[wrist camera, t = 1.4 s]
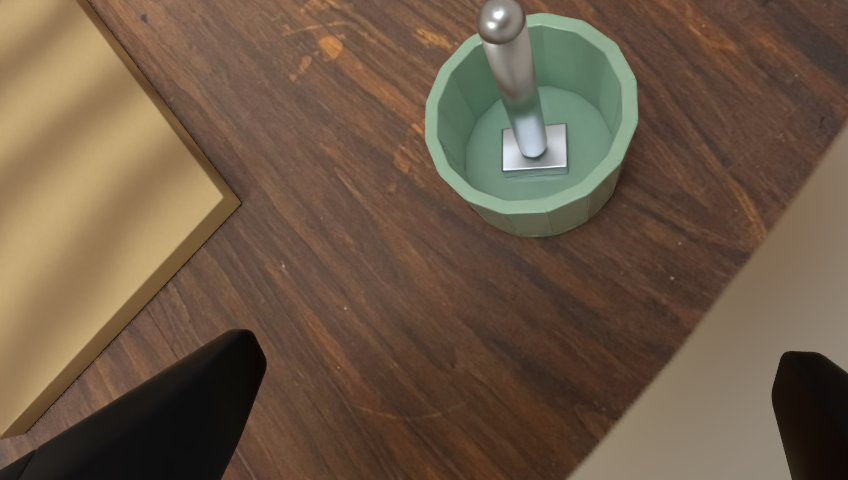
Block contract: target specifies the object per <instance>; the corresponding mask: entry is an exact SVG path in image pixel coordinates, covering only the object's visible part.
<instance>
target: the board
mask: <svg viewBox="0 0 848 480" xmlns="http://www.w3.org/2000/svg"><path fill="white" fill-rule="evenodd" d="M240 204H241V202H240V201H239V199H238V198H237V197H236V195H235V194H234V193H233V191H232V190H231V189H230V187H229V186H228V185H227V184H226V182H225V181H224V180H223V178H222V177H221V176H220V174H219V173H218V172H217V170H216V169H215V168H214V167H213V165H212V164H211V163H210V161H209V160H208V159H207V157H206V156H205V155H204V153H203V152H202V151H201V150H200V148H199V147H198V146H197V144H196V143H195V142H194V140H193V139H192V138H191V136H190V135H189V134H188V133H187V131H186V130H185V129H184V127H183V126H182V125H181V123H180V122H179V121H178V119H177V118H176V117H175V116H174V114H173V113H172V112H171V110H170V109H169V108H168V106H167V105H166V104H165V102H164V101H163V100H162V99H161V97H160V96H159V95H158V93H157V92H156V91H155V89H154V88H153V87H152V85H151V84H150V83H149V82H148V80H147V79H146V78H145V76H144V75H143V74H142V72H141V71H140V70H139V68H138V67H137V66H136V65H135V63H134V62H133V61H132V59H131V58H130V57H129V55H128V54H127V53H126V51H125V50H124V49H123V48H122V46H121V45H120V44H119V42H118V41H117V40H116V38H115V37H114V36H113V34H112V33H111V32H110V31H109V29H108V28H107V27H106V25H105V24H104V23H103V21H102V20H101V19H100V17H99V16H98V15H97V14H96V12H95V11H94V10H93V8H92V7H91V6H90V4H89V3H88V2H87V0H0V439H4V438H9V437H14V436H18V435H23V434H24V433H25V432H26V431H27V430H28V429H29V428H30V427H31V426H32V425H33V424H34V423H35V422H36V421H37V420H38V419H39V418H40V416H41V415H42V414H43V413H44V412H45V411H46V410H47V409H48V408H49V407H50V406H51V405H52V404H53V403H54V402H55V401H56V399H57V398H58V397H59V396H60V395H61V394H62V393H63V392H64V391H65V390H66V389H67V388H68V387H69V386H70V385H71V384H72V382H73V381H74V380H75V379H76V378H77V377H78V376H79V375H80V374H81V373H82V372H83V371H84V370H85V369H86V368H87V367H88V365H89V364H90V363H91V362H92V361H93V360H94V359H95V358H96V357H97V356H98V355H99V354H100V353H101V352H102V351H103V350H104V348H105V347H106V346H107V345H108V344H109V343H110V342H111V341H112V340H113V339H114V338H115V337H116V336H117V335H118V334H119V333H120V331H121V330H122V329H123V328H124V327H125V326H126V325H127V324H128V323H129V322H130V321H131V320H132V319H133V318H134V317H135V316H136V315H137V313H138V312H139V311H140V310H141V309H142V308H143V307H144V306H145V305H146V304H147V303H148V302H149V301H150V300H151V299H152V298H153V296H154V295H155V294H156V293H157V292H158V291H159V290H160V289H161V288H162V287H163V286H164V285H165V284H166V283H167V282H168V281H169V279H170V278H171V277H172V276H173V275H174V274H175V273H176V272H177V271H178V270H179V269H180V268H181V267H182V266H183V265H184V264H185V262H186V261H187V260H188V259H189V258H190V257H191V256H192V255H193V254H194V253H195V252H196V251H197V250H198V249H199V248H200V247H201V245H202V244H203V243H204V242H205V241H206V240H207V239H208V238H209V237H210V236H211V235H212V234H213V233H214V232H215V231H216V230H217V228H218V227H219V226H220V225H221V224H222V223H223V222H224V221H225V220H226V219H227V218H228V217H229V216H230V215H231V214H232V213H233V211H234V210H235V209H236V208H237V207H238V206H239V205H240Z"/></svg>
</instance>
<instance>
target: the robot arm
mask: <svg viewBox="0 0 848 480" xmlns="http://www.w3.org/2000/svg"><path fill="white" fill-rule="evenodd" d="M266 366H267V362H266V358H265V355H264V353H263V351H262V349H261V347H260V345H259V343H258V341H257V339H256V337H255V335H254V333H253V332H252V331H250V330H247V329H231V330H229V331H227V332H225V333H223V334H222V335H220V336H219V337H217V338H215V339H214V340H212V341H210V342H209V343H207V344H206V345H204V346H202V347H201V348H199V349H197V350H196V351H194V352H193V353H191V354H189V355H188V356H186V357H184V358H183V359H181V360H179V361H178V362H176V363H175V364H173V365H171V366H170V367H168V368H166V369H165V370H163V371H162V372H160V373H158V374H157V375H155V376H153V377H152V378H150V379H148V380H147V381H145V382H144V383H142V384H140V385H139V386H137V387H135V388H134V389H132V390H131V391H129V392H127V393H126V394H124V395H122V396H121V397H119V398H118V399H116V400H114V401H113V402H111V403H109V404H108V405H106V406H104V407H103V408H101V409H100V410H98V411H96V412H95V413H93V414H91V415H90V416H88V417H87V418H85V419H83V420H82V421H80V422H78V423H77V424H75V425H73V426H72V427H70V428H69V429H67V430H65V431H64V432H62V433H60V434H59V435H57V436H56V437H54V438H52V439H51V440H49V441H47V442H46V443H44V444H43V445H41V446H39V448H38V449H37V450H32V451H31V452H29V453H28V454H26V455H24V456H23V457H21V458H20V459H18V460H16V461H15V462H13V463H11V464H10V465H8V466H6V467H5V468H3V469H1V470H0V480H221V478H222V476H223V474H224V472H225V470H226V468H227V466H228V464H229V462H230V460H231V458H232V455H233V453H234V451H235V449H236V447H237V445H238V442H239V440H240V438H241V435H242V433H243V430H244V427H245V425H246V422H247V419H248V417H249V414H250V411H251V409H252V406H253V403H254V401H255V398H256V395H257V393H258V390H259V387H260V385H261V382H262V379H263V377H264V374H265V371H266ZM772 404H773V408H774V412H775V416H776V420H777V424H778V427H779V432H780V435H781V439H782V443H783V447H784V450H785V454H786V458H787V462H788V466H789V470H790V474H791V477H792V480H848V373H847V372H846V371H844V370H843V369H842V368H840V367H839V366H838V365H836V364H835V363H833V362H832V361H831V360H829V359H828V358H827V357H825V356H824V355H822V354H820V353H816V352H800V351H789V352H785V353H784V354H783V355H782V357H781V359H780V363H779V366H778V370H777V374H776V377H775V381H774V384H773V388H772Z"/></svg>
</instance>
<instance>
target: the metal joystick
mask: <svg viewBox="0 0 848 480" xmlns="http://www.w3.org/2000/svg"><path fill="white" fill-rule="evenodd" d="M477 30H478V33H479V36H480V39H481V42H482V45H483V47H484V50H485V53H486V56H487V59H488V62H489V64H490V67H491V70H492V73H493V76H494V79H495V82H496V84H497V87H498V90H499V93H500V96H501V99H502V101H503V104H504V107H505V110H506V113H507V116H508V119H509V121H510V124H511V127H512V128H505V129H502V172H503V174H504V176H505V177H519V176H535V175H552V174H567V173H568V129H567V123H559V124H549V125H545V124H544V119H543V113H542V107H541V101H540V95H539V90H538V84H537V78H536V72H535V66H534V61H533V55H532V49H531V43H530V38H529V32H528V26H527V20H526V15H525V11H524V9H523V6H522V5H521V3H520V2H519V1H518V0H487V1H486V2H485V3H484V4H483V6H482V7H481V9H480V11H479V13H478V17H477Z"/></svg>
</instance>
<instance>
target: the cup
mask: <svg viewBox="0 0 848 480" xmlns="http://www.w3.org/2000/svg"><path fill="white" fill-rule="evenodd" d="M526 20H527V26H528V32H529V38H530V43H531V49H532V55H533V61H534V66H535V72H536V78H537V84H538V90H539V95H540V101H541V107H542V113H543V119H544V124H545V125H549V124H559V123H567V129H568V173H567V174H552V175H535V176H519V177H505V176H504V174H503V172H502V129H505V128H512V127H511V124H510V121H509V119H508V116H507V113H506V110H505V107H504V104H503V101H502V99H501V96H500V93H499V90H498V87H497V84H496V82H495V79H494V76H493V73H492V70H491V67H490V64H489V62H488V59H487V56H486V53H485V50H484V47H483V45H482V42H481V39H480V36H479V33H477V34H475V35H473V36H471V37H469V38H468V39H467V40H466V41H465V42H464V43H463V44H462V45H461V46H460V47H459V48H458V49H457V51H456V52H455V53H454V54H453V55H452V56H451V57H450V58H449V59H448V60H447V61H446V62H445V64H444V65H443V66H442V67H441V69H440V71H439V73H438V75H437V78H436V80H435V82H434V85H433V87H432V90H431V92H430V94H429V97H428V99H427V101H426V114H425V142H426V144H427V147H428V149H429V152H430V154H431V157H432V159H433V162H434V164H435V167H436V169H437V172H438V173H439V175H440V176H441V177H442V178H443V179H444V180H445V181H446V182H447V183H448V184H449V185H450V186H451V187H452V189H453V190H454V191H455V192H456V193H457V194H458V195H459V196H460V197H461V198H462V199H463V200H464V201H465V202H466V203H467V204H468V205H469V206H470V207H471V208H473V209H474V210H475V211H476V212H477V213H478V214H479V215H480V216H481V217H482V218H483V219H484V220H485V221H486V222H487V223H488V224H490V225H492V226H494V227H496V228H498V229H500V230H502V231H505V232H507V233H510V234H514V235H518V236H523V237H549V236H553V235H558V234H561V233H564V232H567V231H570V230H572V229H574V228H576V227H578V226H580V225H582V224H583V223H585V222H586V221H588V220H589V219H591V218H592V217H593V216H594V215H595V214H596V213H597V212H599V211H600V209H601V208H602V207H603V206H604V205H605V204H606V203H607V201H608V200H609V198H611V196H612V195H613V192H614V190H615V188H616V186H617V183H618V180H619V178H620V175H621V173H622V170H623V168H624V165H625V162H626V159H627V156H628V153H629V150H630V146H631V143H632V140H633V137H634V134H635V130H636V127H637V124H638V98H637V81H636V77H635V76H634V74H633V72H632V70H631V68H630V67H629V65H628V63H627V61H626V59H625V58H624V56H623V54H622V52H621V50H620V49H619V47H618V45H616V43H615V42H613V41H612V40H611V39H609V38H608V37H606V36H605V35H603V34H602V33H601V32H599V31H598V30H596V29H595V28H594V27H592V26H591V25H589V24H588V23H586V22H585V21H582V20H578V19H573V18H568V17H563V16H559V15H554V14H549V13H538V14H532V15H526Z"/></svg>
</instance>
